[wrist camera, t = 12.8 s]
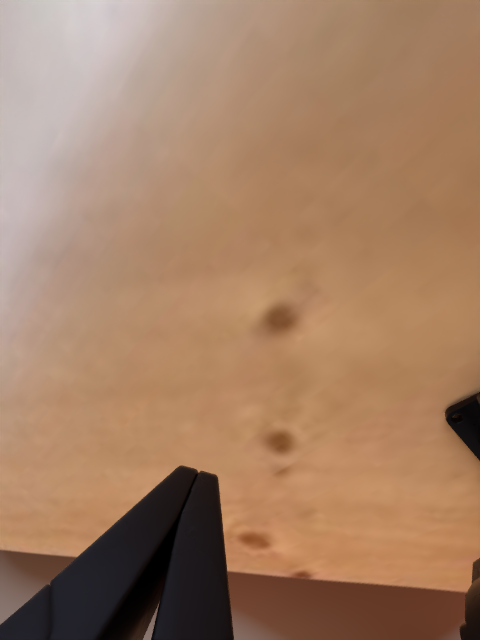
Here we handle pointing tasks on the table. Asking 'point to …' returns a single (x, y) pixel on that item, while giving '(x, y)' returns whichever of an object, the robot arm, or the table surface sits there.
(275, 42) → the table surface
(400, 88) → the table surface
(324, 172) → the table surface
